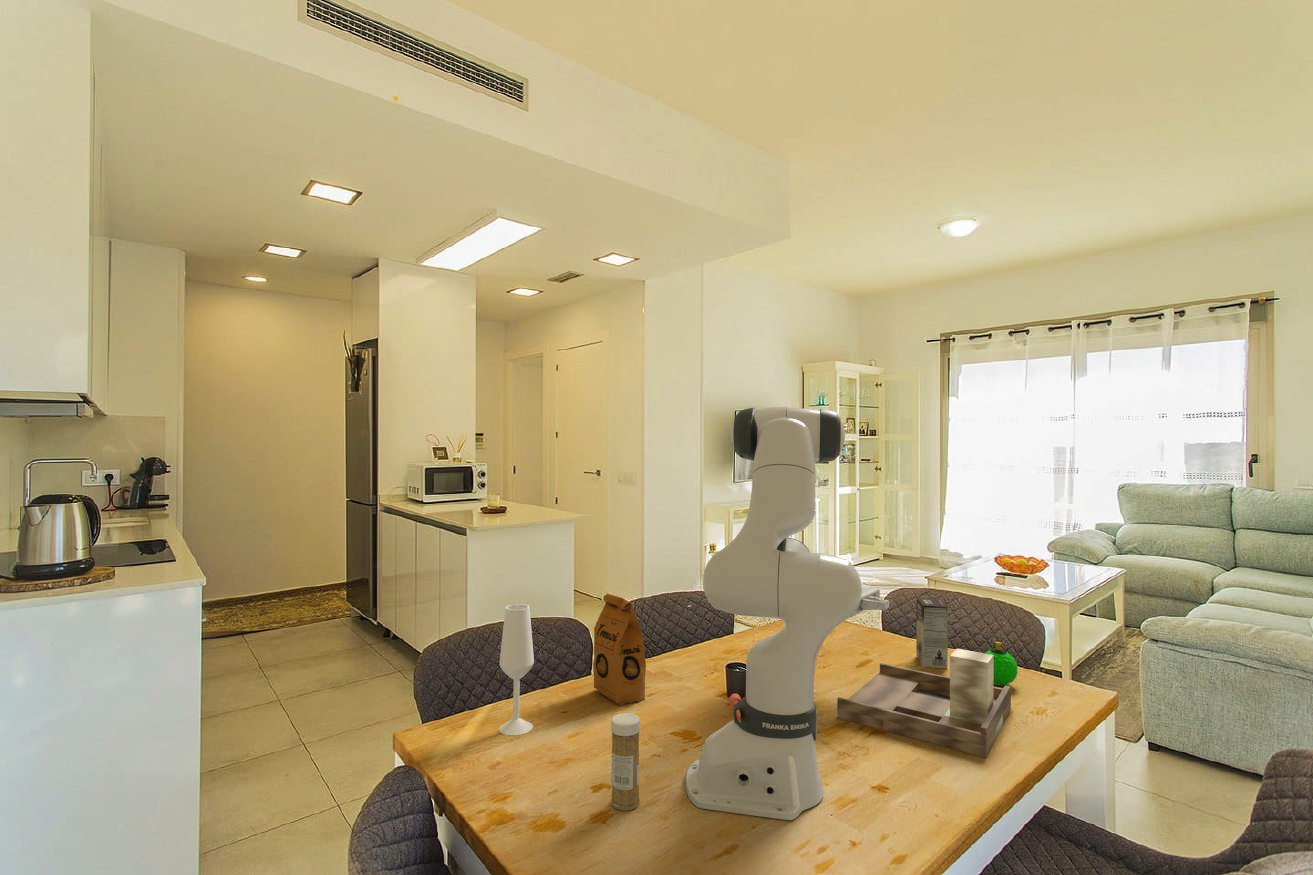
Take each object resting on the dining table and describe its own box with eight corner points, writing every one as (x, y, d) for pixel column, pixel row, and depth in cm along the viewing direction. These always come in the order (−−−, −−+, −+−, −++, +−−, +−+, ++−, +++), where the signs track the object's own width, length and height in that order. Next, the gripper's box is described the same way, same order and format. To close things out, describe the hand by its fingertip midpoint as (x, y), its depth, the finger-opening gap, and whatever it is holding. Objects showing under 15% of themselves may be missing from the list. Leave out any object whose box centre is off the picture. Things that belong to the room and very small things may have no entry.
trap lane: (837, 717, 134) (837, 693, 134) (880, 679, 156) (880, 658, 156) (985, 757, 117) (985, 730, 117) (1010, 708, 139) (1010, 685, 139)
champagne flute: (538, 730, 127) (539, 608, 127) (504, 738, 123) (506, 612, 123) (526, 718, 132) (527, 601, 133) (494, 725, 129) (495, 605, 129)
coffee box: (915, 656, 174) (915, 596, 174) (940, 657, 173) (940, 598, 173) (922, 667, 165) (922, 604, 165) (948, 669, 164) (949, 606, 164)
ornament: (985, 675, 159) (985, 635, 160) (1022, 684, 154) (1022, 642, 154) (974, 684, 154) (974, 642, 154) (1012, 693, 148) (1012, 650, 148)
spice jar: (645, 801, 102) (645, 716, 102) (628, 815, 98) (629, 726, 98) (621, 792, 104) (622, 709, 104) (604, 806, 100) (605, 719, 100)
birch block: (949, 714, 131) (950, 655, 131) (956, 705, 136) (956, 648, 136) (987, 723, 127) (987, 662, 127) (993, 713, 132) (993, 655, 132)
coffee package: (611, 709, 137) (612, 606, 137) (588, 689, 148) (589, 594, 148) (652, 700, 142) (653, 601, 142) (626, 682, 153) (627, 589, 153)
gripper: (808, 589, 142) (871, 598, 133) (843, 577, 158) (900, 584, 150) (808, 618, 142) (871, 629, 133) (843, 603, 158) (900, 611, 150)
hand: (887, 605), depth 142 cm, fingers closed
